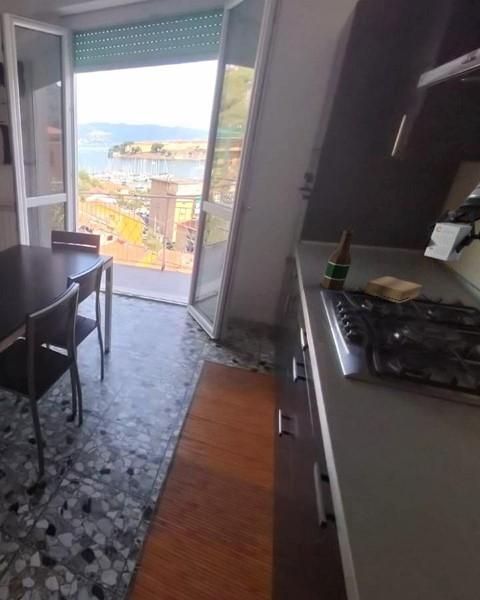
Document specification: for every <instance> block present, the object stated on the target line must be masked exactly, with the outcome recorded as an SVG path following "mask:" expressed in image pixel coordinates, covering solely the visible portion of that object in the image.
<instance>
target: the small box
mask: <svg viewBox="0 0 480 600" xmlns="http://www.w3.org/2000/svg"><path fill="white" fill-rule="evenodd" d="M471 229H472V226H470V225H467V224H461V223H456V224H454V223H443V222H442V223H437V224H436V226H435V229H434V231H433V234H432V236H431V239H430V241H429V244H428V246H427V247H426V249H425V252H424V254H423V255H424V256H426V257H429V258H433V259H438V260H442V261H446V262H449V261H458V260H460V257H461V254H462V253H463V250H464V248H463V249H462V250H461V251H460V253H456V248H457V247H458V246H459V244H460V243H461V242H462V241H463V240H464V238H465V237H466V236H467V235H468V236H470V231H471Z"/></svg>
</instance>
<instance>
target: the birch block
mask: <svg viewBox="0 0 480 600" xmlns="http://www.w3.org/2000/svg"><path fill="white" fill-rule="evenodd" d="M422 287H423V285H422V284H418V283H415V282H412V281H407V280H403V279H399V278H396V277H392V276H388V275H385V276H382V277H379V278H375V279H371V280H369V281H367V284H366V286H365V289H364V292H363V293H364V294H367V295H369V296H374V297H376V296H378V297H377V298H379V297H381V298H380V299H383V300H386V301H389V302H392V303H395V302H396V303H395V304H398V303H399V304H402V303H405V302H407V301H410V300H414V299H416V298H418V297H419V295H420V292H421V291H422V290H421V289H422ZM375 293H376V294H375ZM378 294H379V295H378ZM381 295H382V296H381ZM384 296H386V297H384ZM387 297H390V298H387ZM407 297H410V298H408V299H405V298H407ZM391 298H393V299H391ZM394 299H397V300H402V299H405V300H402V301H397V300H394ZM409 299H410V300H409Z"/></svg>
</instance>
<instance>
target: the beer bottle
mask: <svg viewBox="0 0 480 600" xmlns="http://www.w3.org/2000/svg"><path fill="white" fill-rule="evenodd" d="M342 233H343V234H342V237H341V239H340V242H339V245H338V247H337V249H336V250H334V251H333V252H332V253H331V254H330V256H329V258H328V262H327V265H326V269H325V272H324V275H323V279H322V283H321V286H322V287H323V288H325V289H328V290H333V291H340V290H341V291H342V289H343V287H344V286H345V282H346V279H347V276H348V273H349V269H350V267H351V263H352V255H351V252H350V248H351V245H352V239H353V236H354V235H355V231H354V230H348V229H345V230H343V231H342Z"/></svg>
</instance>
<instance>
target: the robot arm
mask: <svg viewBox="0 0 480 600" xmlns="http://www.w3.org/2000/svg"><path fill="white" fill-rule="evenodd" d="M478 221H480V182H479V183H478V184H477V186H476V187H475V188H474V189H473V191H472V192H470V194H469V195H468V196H467V198H466V199H465V200H464V201H463V202H462V204H461V205H460V206H459V207H458V209H456V210H455V211H453V210H452V211H451V210H450V209H445V210H444V212H443V213H442V214H441V215H440V216H439V217H437V218H436V219H434V221H432V222H430V224H428V225H427V226H426V228H427V232H428V233H427V235H426V240H425V241H424V242H423V246H424V248H427V246H428V244H429V241H430V239H431V236H432V234H433V231H434V229H435V226H436V224H437V223H454V224H464V225H469V226H472V229H471V231H470V234H469V236H468V235H467V236H466V237H465V238H464V240H463V241H462V242H461V243H460V244H459V246H458V247H457V248H456V253H460V251H461V250H462V249H463V250H464V248H465V247H469V246H470V245H471V244H472V243H473V242H474V241H475V240H478V241H480V230H479V231H478V233H476V222H478ZM463 250H462V251H463Z"/></svg>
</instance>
